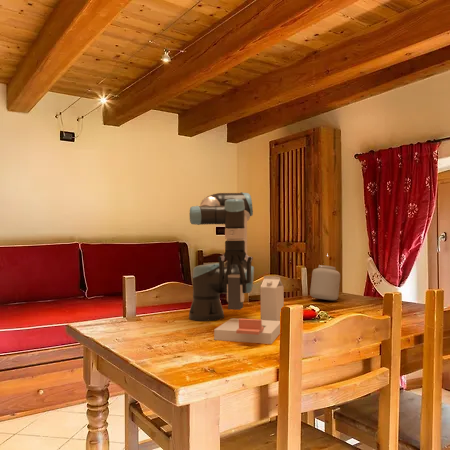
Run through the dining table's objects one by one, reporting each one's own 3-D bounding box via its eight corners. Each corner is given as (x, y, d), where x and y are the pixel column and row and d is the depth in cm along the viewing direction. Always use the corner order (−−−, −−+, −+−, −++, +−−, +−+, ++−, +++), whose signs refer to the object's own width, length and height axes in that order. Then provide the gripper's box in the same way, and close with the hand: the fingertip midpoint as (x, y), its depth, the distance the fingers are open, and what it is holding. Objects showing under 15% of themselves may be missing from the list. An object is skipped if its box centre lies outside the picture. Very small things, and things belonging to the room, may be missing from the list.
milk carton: (268, 320, 178) (267, 275, 178) (284, 322, 174) (283, 275, 174) (260, 324, 172) (260, 276, 172) (276, 325, 168) (276, 277, 168)
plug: (231, 306, 165) (231, 273, 165) (242, 307, 164) (242, 274, 164) (228, 309, 161) (227, 275, 161) (239, 309, 159) (239, 275, 159)
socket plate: (231, 327, 166) (231, 318, 166) (282, 330, 160) (282, 321, 160) (214, 339, 147) (214, 329, 147) (271, 343, 141) (271, 333, 141)
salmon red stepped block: (242, 328, 148) (242, 316, 148) (263, 329, 145) (263, 317, 145) (236, 333, 140) (236, 321, 141) (258, 334, 138) (258, 322, 138)
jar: (325, 297, 240) (324, 252, 241) (348, 300, 229) (347, 253, 230) (304, 301, 228) (303, 254, 228) (327, 304, 217) (326, 255, 217)
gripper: (209, 240, 161) (210, 301, 161) (254, 240, 156) (255, 304, 156) (216, 239, 168) (217, 298, 169) (259, 239, 163) (260, 300, 163)
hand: (235, 301), depth 162 cm, fingers closed on plug, 4 cm apart
